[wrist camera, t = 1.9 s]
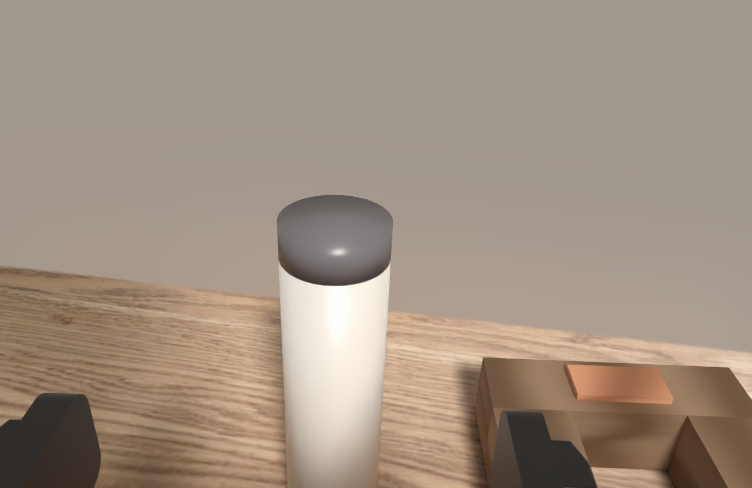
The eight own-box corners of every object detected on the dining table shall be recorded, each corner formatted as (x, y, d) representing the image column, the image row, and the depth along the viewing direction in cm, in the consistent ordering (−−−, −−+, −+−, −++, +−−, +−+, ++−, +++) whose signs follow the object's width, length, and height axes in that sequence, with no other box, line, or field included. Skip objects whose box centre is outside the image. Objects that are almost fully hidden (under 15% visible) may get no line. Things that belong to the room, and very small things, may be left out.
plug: (282, 540, 31) (268, 245, 23) (294, 466, 34) (285, 192, 27) (375, 544, 31) (393, 250, 23) (376, 470, 34) (392, 197, 27)
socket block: (515, 654, 26) (532, 588, 24) (474, 410, 39) (483, 351, 36) (856, 667, 26) (904, 603, 24) (708, 419, 39) (730, 361, 37)
